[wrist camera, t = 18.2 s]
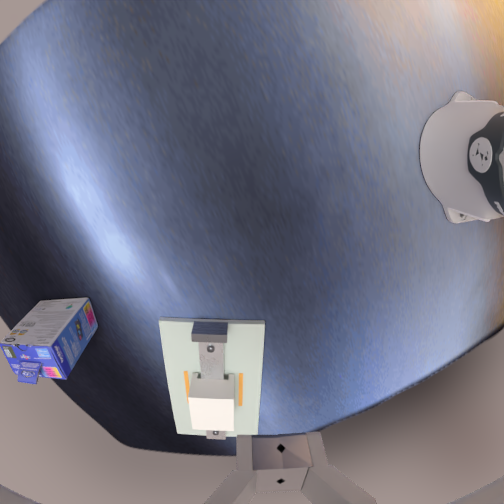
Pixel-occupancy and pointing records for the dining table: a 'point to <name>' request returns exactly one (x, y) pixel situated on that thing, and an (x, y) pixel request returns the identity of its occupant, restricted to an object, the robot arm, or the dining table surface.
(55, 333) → the ink cartridge box
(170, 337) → the mounting board
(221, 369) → the rail
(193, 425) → the block
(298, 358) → the dining table surface
